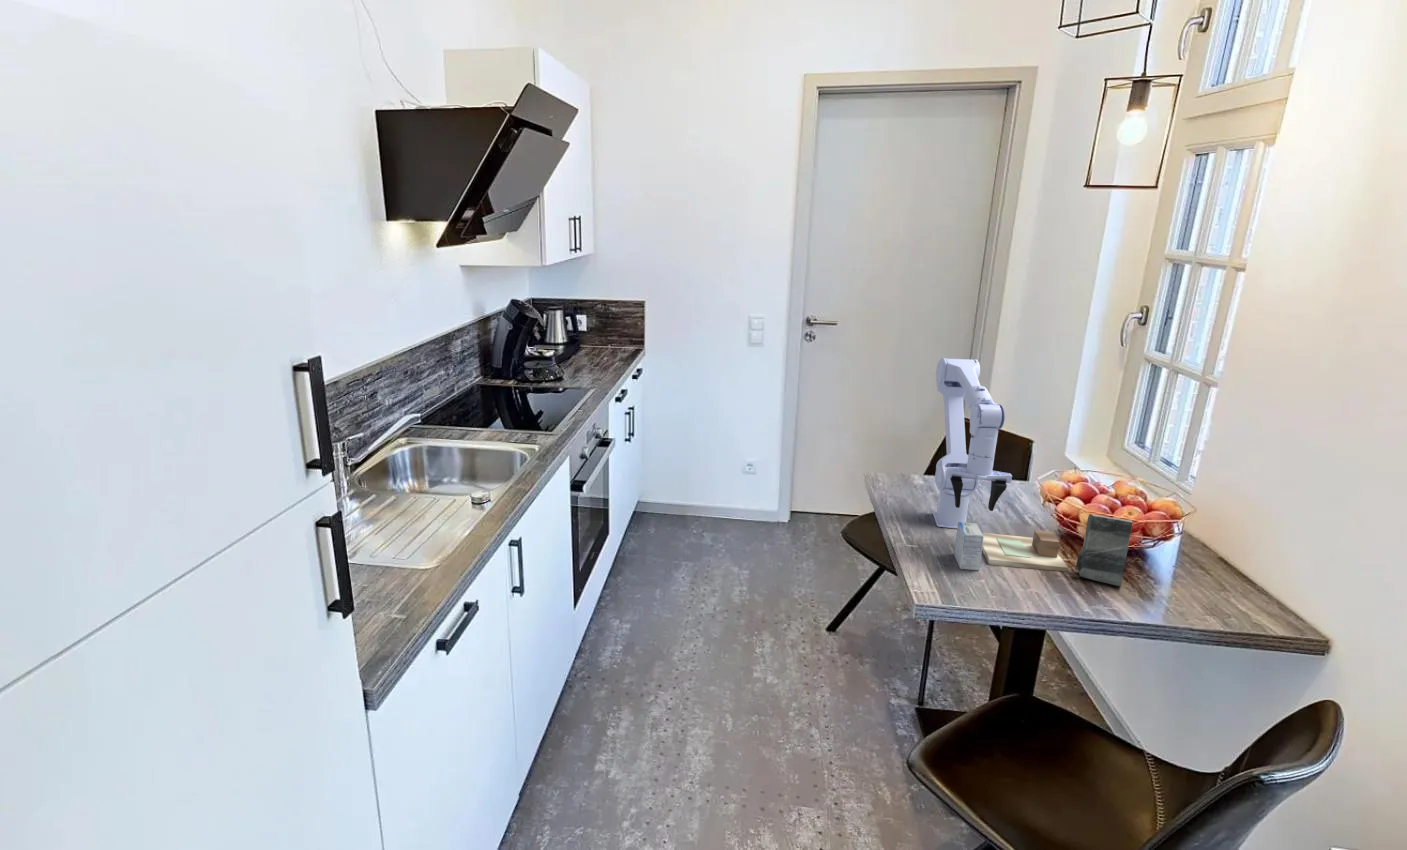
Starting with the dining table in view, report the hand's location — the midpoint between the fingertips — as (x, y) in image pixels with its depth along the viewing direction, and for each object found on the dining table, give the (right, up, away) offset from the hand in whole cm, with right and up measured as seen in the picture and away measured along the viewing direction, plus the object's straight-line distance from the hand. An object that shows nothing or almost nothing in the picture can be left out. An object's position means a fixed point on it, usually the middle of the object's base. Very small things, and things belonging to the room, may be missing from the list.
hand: (973, 507), depth 166 cm
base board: (+11, -11, 0) cm, 16 cm away
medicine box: (-4, -12, -6) cm, 14 cm away
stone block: (+23, -15, -11) cm, 30 cm away
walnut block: (+16, -10, -2) cm, 19 cm away
